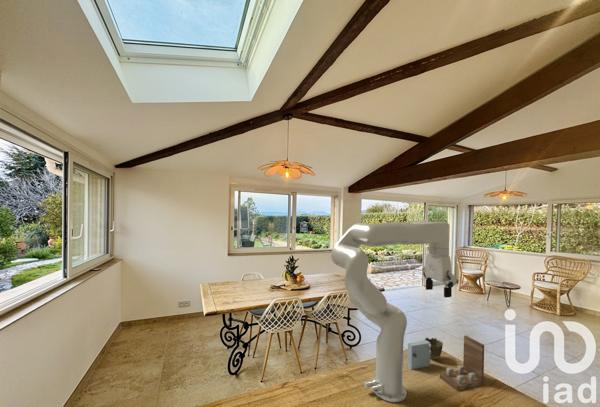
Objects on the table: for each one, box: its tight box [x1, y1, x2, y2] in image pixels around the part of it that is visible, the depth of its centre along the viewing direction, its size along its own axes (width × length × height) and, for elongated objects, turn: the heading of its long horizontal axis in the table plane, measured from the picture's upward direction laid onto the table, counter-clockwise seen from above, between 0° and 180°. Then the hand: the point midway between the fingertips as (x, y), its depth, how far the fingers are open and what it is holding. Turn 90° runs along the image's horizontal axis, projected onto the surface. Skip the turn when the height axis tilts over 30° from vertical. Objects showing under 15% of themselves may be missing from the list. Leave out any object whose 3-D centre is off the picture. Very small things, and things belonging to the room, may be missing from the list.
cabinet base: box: [439, 335, 485, 391], centre depth 107 cm, size 14×8×16 cm, turn 108°
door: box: [407, 339, 431, 370], centre depth 116 cm, size 10×3×10 cm, turn 108°
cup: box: [424, 337, 444, 361], centre depth 123 cm, size 8×7×8 cm
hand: (438, 293), depth 109 cm, fingers open, 9 cm apart
